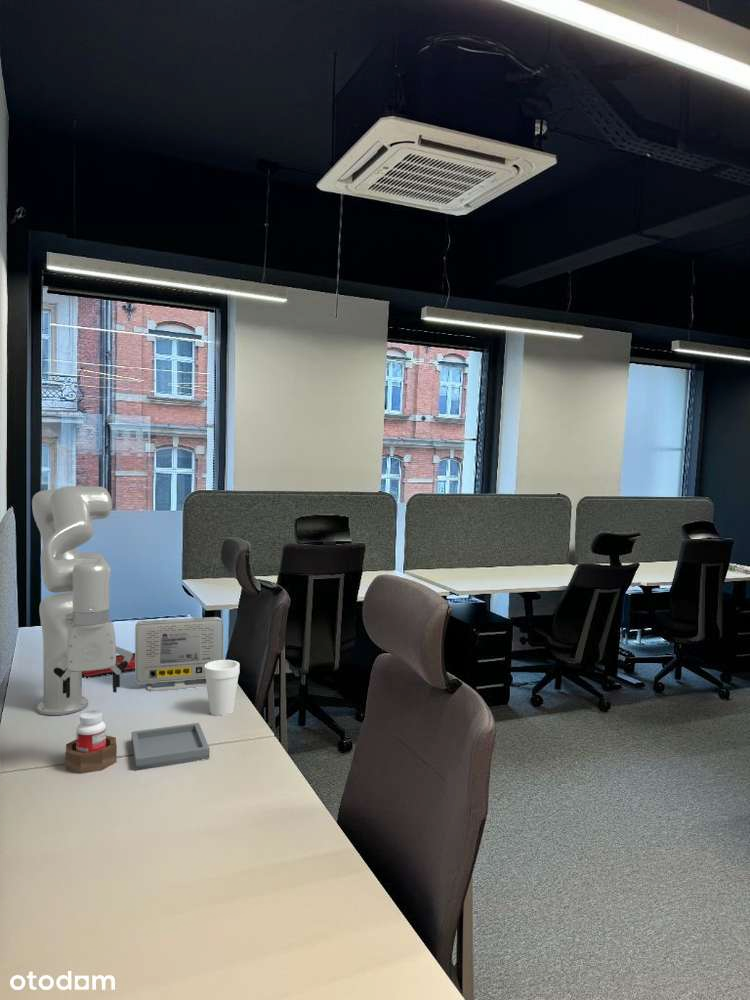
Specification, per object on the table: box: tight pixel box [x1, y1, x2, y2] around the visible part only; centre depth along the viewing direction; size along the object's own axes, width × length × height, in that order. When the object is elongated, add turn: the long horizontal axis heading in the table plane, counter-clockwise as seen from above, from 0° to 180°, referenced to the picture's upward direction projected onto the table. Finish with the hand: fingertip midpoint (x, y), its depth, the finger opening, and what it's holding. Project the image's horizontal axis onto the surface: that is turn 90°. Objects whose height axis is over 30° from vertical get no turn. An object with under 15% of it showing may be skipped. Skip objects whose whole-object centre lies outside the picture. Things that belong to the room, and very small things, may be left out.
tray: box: [130, 722, 211, 771], centre depth 156 cm, size 16×16×2 cm
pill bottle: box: [75, 710, 107, 753], centre depth 149 cm, size 6×6×11 cm
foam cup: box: [205, 659, 241, 716], centre depth 180 cm, size 10×9×13 cm
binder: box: [82, 652, 135, 679], centre depth 217 cm, size 16×2×21 cm
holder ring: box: [65, 734, 118, 774], centre depth 149 cm, size 10×10×4 cm
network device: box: [134, 616, 224, 692], centre depth 200 cm, size 26×9×20 cm, turn 108°
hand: (91, 693), depth 147 cm, fingers open, 9 cm apart
